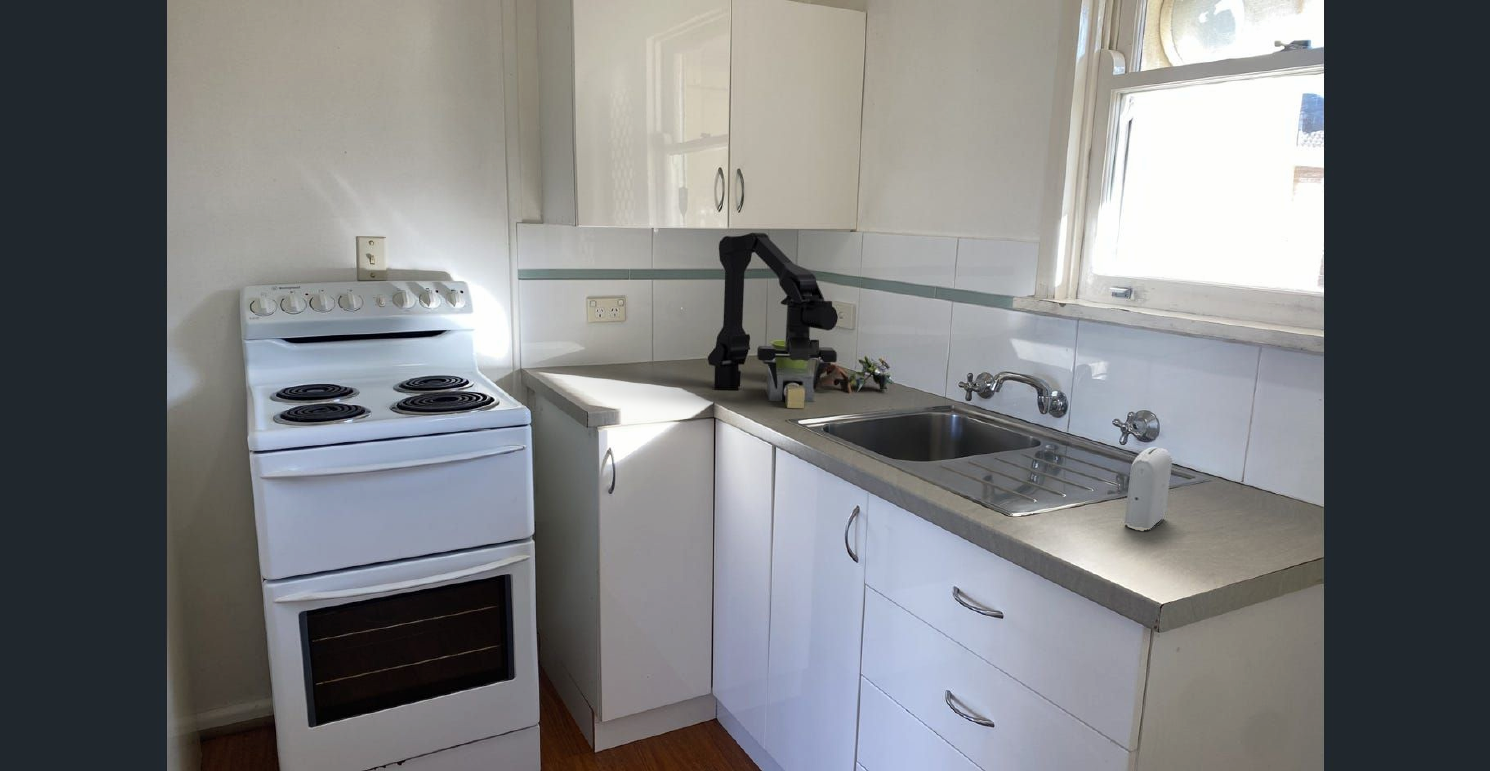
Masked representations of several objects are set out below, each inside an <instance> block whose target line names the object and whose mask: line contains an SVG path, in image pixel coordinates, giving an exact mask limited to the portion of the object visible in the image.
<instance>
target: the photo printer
mask: <svg viewBox="0 0 1490 771" xmlns="http://www.w3.org/2000/svg"><path fill="white" fill-rule="evenodd" d="M1172 465H1173V458H1172V455H1171V453H1170V452H1169V451H1167V450H1166V449H1165V448H1161V447H1157V446H1150V447H1149V448H1146V449H1144V450H1143V451H1142V452H1140V453H1139V454H1138V455H1137V456H1136V457H1135V459H1134V460H1133V461H1132V464H1131V467H1130V475H1129V482H1128V489H1127V490H1128V491H1127V497H1126V498H1127V500H1126V507H1125V516H1124V524H1125V523H1127V524H1129V525H1130V526H1134V527H1143V528H1150V527H1153V526H1154V525H1155V524H1156V523H1157V522H1159V521H1160V520H1161V519H1162V518H1163V517H1164V518H1165V516H1166V511H1167V503H1168V495H1169V490H1170V489H1169V488H1170V481H1171V475H1172V474H1171V472H1172ZM1164 518H1163V519H1164ZM1163 519H1162V520H1163ZM1162 520H1161V521H1162ZM1161 521H1160V522H1161ZM1160 522H1159V523H1160ZM1154 527H1155V526H1154ZM1154 527H1153V528H1154Z"/></svg>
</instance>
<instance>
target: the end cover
mask: <svg viewBox="0 0 1490 771" xmlns="http://www.w3.org/2000/svg"><path fill="white" fill-rule="evenodd" d="M782 391H783V393H782V394H783V395H784V397H785V401H784V402H785V405H786V407H787V409H804V408H805V402H804V398H805V389H804V387H803V385H799V384H798V383H797V381H783V390H782Z"/></svg>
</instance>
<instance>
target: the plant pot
mask: <svg viewBox="0 0 1490 771" xmlns="http://www.w3.org/2000/svg"><path fill="white" fill-rule="evenodd" d="M785 341H786V339H779V340H772V341H770V345H771V346H774V347H775V349H776V350H785ZM788 354H789V352H788ZM775 361H776V368H804V369H808V368H807V367H808V363H809V361H804V360H796V361H794V360H791V359H790V357H775Z"/></svg>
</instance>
